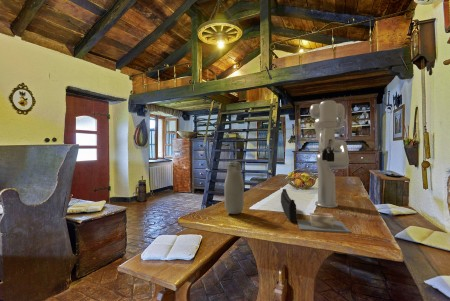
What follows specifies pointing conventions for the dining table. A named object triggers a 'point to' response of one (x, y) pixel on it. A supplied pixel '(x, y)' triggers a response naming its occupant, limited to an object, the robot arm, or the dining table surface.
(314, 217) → the card box
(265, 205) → the dining table surface
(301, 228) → the mat
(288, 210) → the magazine
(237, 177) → the glass bottle
